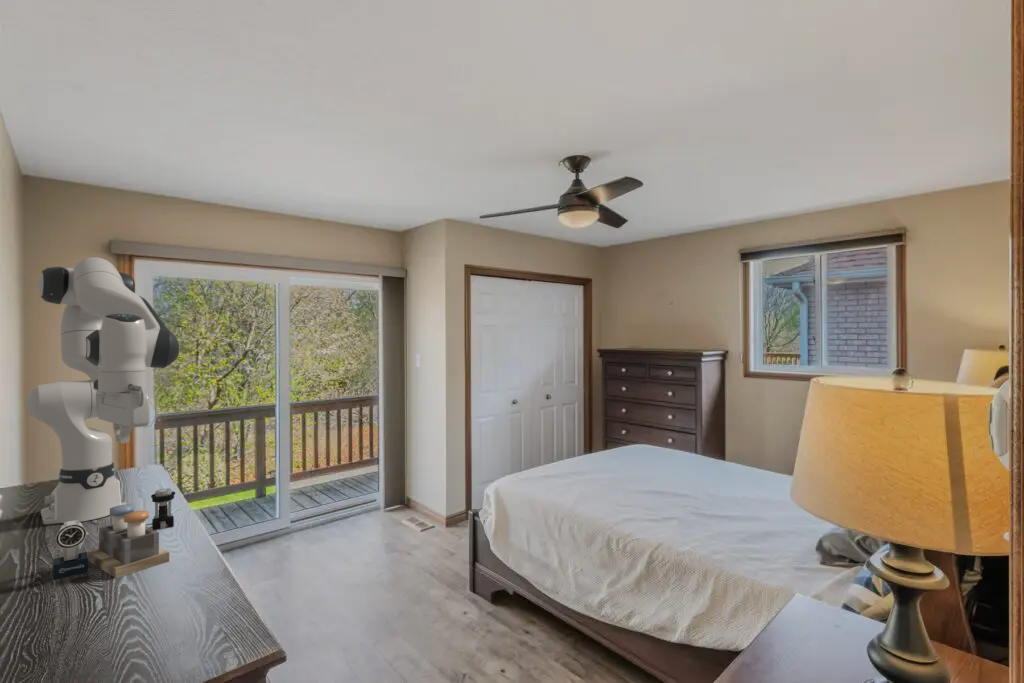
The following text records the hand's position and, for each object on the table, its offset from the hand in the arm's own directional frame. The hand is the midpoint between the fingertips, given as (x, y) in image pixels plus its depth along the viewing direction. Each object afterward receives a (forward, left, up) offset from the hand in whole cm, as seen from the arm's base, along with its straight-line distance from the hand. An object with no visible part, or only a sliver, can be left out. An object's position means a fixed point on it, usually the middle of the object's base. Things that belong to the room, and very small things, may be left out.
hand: (122, 442), depth 115 cm
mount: (+4, 0, -27) cm, 27 cm away
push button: (-13, +13, -27) cm, 33 cm away
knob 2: (+8, 0, -24) cm, 26 cm away
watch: (+1, -9, -27) cm, 28 cm away
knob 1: (0, 0, -24) cm, 24 cm away
